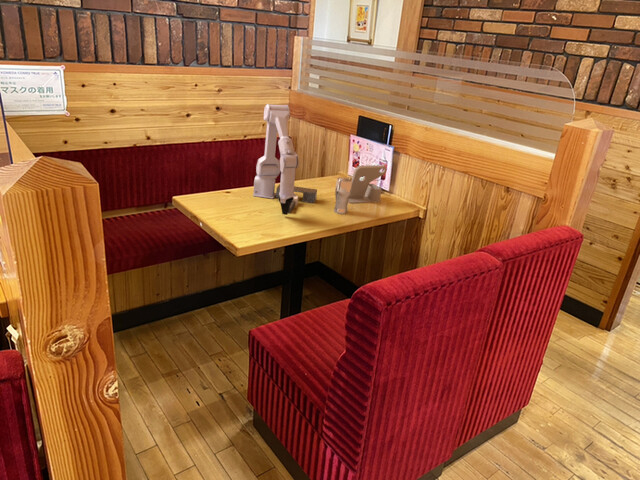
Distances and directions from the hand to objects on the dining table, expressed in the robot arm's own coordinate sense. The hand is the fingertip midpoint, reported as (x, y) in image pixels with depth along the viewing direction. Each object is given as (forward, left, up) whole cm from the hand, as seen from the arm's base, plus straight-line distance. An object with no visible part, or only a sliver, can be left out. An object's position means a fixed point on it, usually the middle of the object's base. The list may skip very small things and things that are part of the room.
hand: (285, 214), depth 208 cm
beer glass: (+22, +16, -1) cm, 27 cm away
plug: (0, +12, -1) cm, 12 cm away
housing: (0, +25, -1) cm, 25 cm away
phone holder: (+30, +38, -2) cm, 48 cm away
